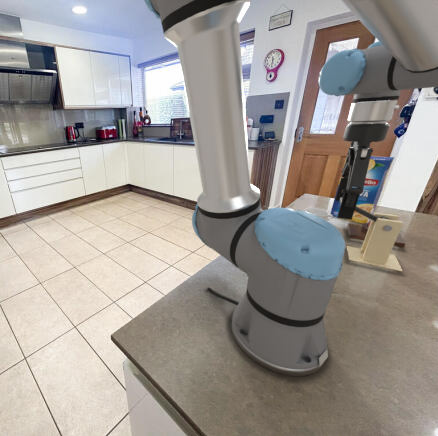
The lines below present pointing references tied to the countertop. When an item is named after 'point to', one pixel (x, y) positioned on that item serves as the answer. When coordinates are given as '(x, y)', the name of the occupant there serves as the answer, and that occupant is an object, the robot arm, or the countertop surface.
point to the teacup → (319, 213)
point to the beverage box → (369, 188)
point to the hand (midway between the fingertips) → (342, 209)
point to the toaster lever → (366, 213)
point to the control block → (361, 232)
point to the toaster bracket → (379, 243)
